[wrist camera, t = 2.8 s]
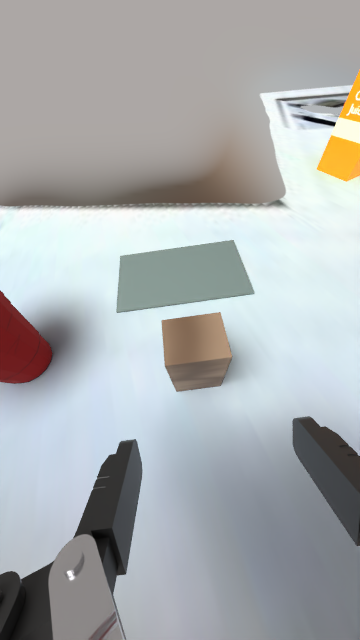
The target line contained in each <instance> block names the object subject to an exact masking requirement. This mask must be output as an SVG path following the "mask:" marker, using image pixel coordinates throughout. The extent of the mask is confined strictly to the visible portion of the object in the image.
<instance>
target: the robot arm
mask: <svg viewBox="0 0 360 640" xmlns="http://www.w3.org/2000/svg"><path fill="white" fill-rule="evenodd" d="M293 447H294V450H295V453H296V455H297V457H298V458H299V460H300V461H301V463H302V464H303V466H304V467H305V469H306V470H307V472H308V473H309V475H310V476H311V478H312V479H313V481H314V482H315V484H316V485H317V487H318V488H319V490H320V491H321V493H322V494H323V496H324V497H325V499H326V500H327V502H328V503H329V505H330V506H331V508H332V509H333V511H334V512H335V514H336V515H337V517H338V518H339V520H340V521H341V523H342V524H343V526H344V527H345V529H346V530H347V532H348V533H349V535H350V536H351V538H352V539H353V541H354V542H355V544H356V545H357V546H360V456H358V454H357V453H356V452H355V451H354V450H353V449H352V448H351V447H349V445H348V444H347V443H346V442H345V441H344V440H343V439H342V438H341V437H340V436H339V435H338V434H337V433H335V432H333V431H332V430H330V429H328V428H327V427H320V426H319V425H318V424H317V423H316V422H315V420H314V419H313V418H311V417H309V416H308V417H301V418H294V419H293ZM141 480H142V462H141V457H140V453H139V449H138V444H137V441H136V439H134V440H126V441H121V442H120V443H119V446H118V449H117V452H116V454H113V455H109V456H108V458H107V459H106V460H105V462H104V463H103V464H102V466H101V469H100V471H99V474H98V476H97V480H96V482H95V484H94V487H93V490H92V492H91V495H90V497H89V500H88V503H87V505H86V508H85V510H84V513H83V516H82V518H81V521H80V523H79V526H78V529H77V531H76V533H75V536H74V538H73V539H72V540H71V541H69V542H68V543H67V544H66V545H65V546H64V547H63V548H62V550H61V551H60V552H59V554H58V555H57V557H56V559H55V560H54V561H53V562H52V563H50V564H49V565H47V566H45V567H43V568H41V569H40V570H38V571H36V572H34V573H32V574H30V575H28V576H26V577H25V578H23V579H20V577H19V575H18V574H17V573H16V572H13V571H10V572H6V573H3V574H1V575H0V640H126V636H125V633H124V630H123V626H122V623H121V619H120V616H119V613H118V609H117V606H116V603H115V599H114V596H113V592H114V587H115V582H116V577H117V575H124V574H126V571H127V565H128V559H129V553H130V547H131V541H132V535H133V529H134V523H135V516H136V510H137V504H138V498H139V492H140V486H141Z"/></svg>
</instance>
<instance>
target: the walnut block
mask: <svg viewBox="0 0 360 640" xmlns="http://www.w3.org/2000/svg"><path fill="white" fill-rule="evenodd" d="M162 332H163V346H164V360H165V367H166V369H167V372H168V374H169V376H170V378H171V381H172V383H173V385H174V387H175V389H176V392H178V391H186V390H193V389H201V388H208V387H216V386H221V384H222V381H223V379H224V376H225V374H226V371H227V369H228V366H229V364H230V361H231V359H232V354H231V351H230V347H229V343H228V339H227V335H226V332H225V328H224V324H223V320H222V317H221V313H220V312H219V313H211V314H204V315H197V316H190V317H182V318H175V319H168V320H162Z"/></svg>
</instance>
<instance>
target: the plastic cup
mask: <svg viewBox="0 0 360 640" xmlns="http://www.w3.org/2000/svg"><path fill="white" fill-rule="evenodd" d="M51 357H52V350H51V347H50V346H49V343H48V342H47V341H46V340H45V339H44V338H43V337H42V336H41V335H40V334H39V332H38V331H37V330H36V329H35V328H34V327H33V326H32V325H31V324H30V323H29V322H28V321H27V320H26V319H25V318H24V317H23V316H22V315H21V313H20V312H19V311H18V310H17V309H16V308H15V307H14V306H13V305H12V304H11V302H10V301H9V300H8V299H7V298H6V297H5V296H4V294H3V293H2V292H1V291H0V382H5V383H14V384H15V383H24V382H29V381H31V380H33V379H35V378H37V377H38V376H40V375H41V374H42V373H43V372H44V371H45V370H46V368H47V367H48V365H49V363H50V362H51Z"/></svg>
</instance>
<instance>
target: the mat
mask: <svg viewBox="0 0 360 640" xmlns="http://www.w3.org/2000/svg"><path fill="white" fill-rule="evenodd" d="M249 294H254V290H253V288H252V285H251V283H250V280H249V278H248V275H247V273H246V270H245V268H244V265H243V263H242V260H241V258H240V255H239V253H238V250H237V248H236V245H235V243H234V240H230V241H223V242H216V243H209V244H202V245H195V246H188V247H181V248H174V249H167V250H159V251H152V252H145V253H138V254H131V255H124V256H120V270H119V283H118V297H117V311H116V312H117V313H119V312H127V311H134V310H141V309H148V308H155V307H163V306H170V305H177V304H184V303H191V302H199V301H206V300H213V299H220V298H228V297H235V296H242V295H249Z"/></svg>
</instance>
